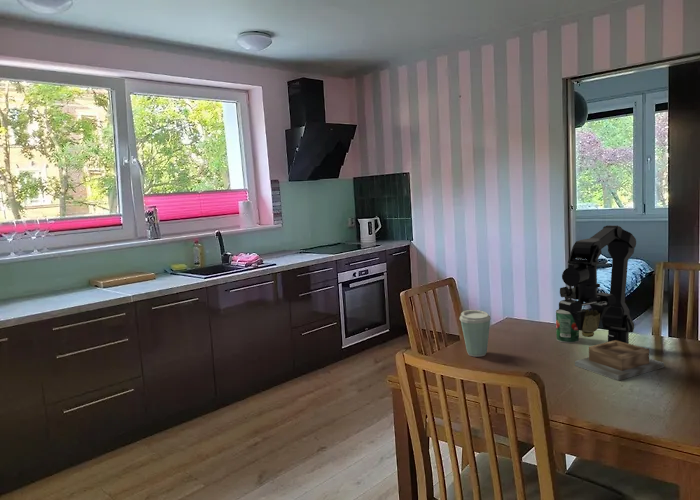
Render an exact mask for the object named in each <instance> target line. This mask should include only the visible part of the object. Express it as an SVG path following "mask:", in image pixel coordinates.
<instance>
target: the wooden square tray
mask: <svg viewBox="0 0 700 500" xmlns="http://www.w3.org/2000/svg"><path fill="white" fill-rule="evenodd" d="M574 366H575V367H578V368H581V369H585V370H587V371H590V372H593V373H596V374H598V375H601V376H605V378H610V379H613V380H615V381H618V382H619V381H622V380H625V379H629V378H632V377H636V376H639V375H643V374H646V373H649V372H652V371H657V370H660V369H663V368H665V363H664V361H660V360H656V359H653V358H650V349H649V348H647V347H642V346H639V345H635V344H631V343H629V344H628V343H624V342H621V341H617V340H614V341H610V342H608V341H606V342H603V343H599V344H593V345H590V346H588V357H585V358H581V359H577V360H574Z"/></svg>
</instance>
